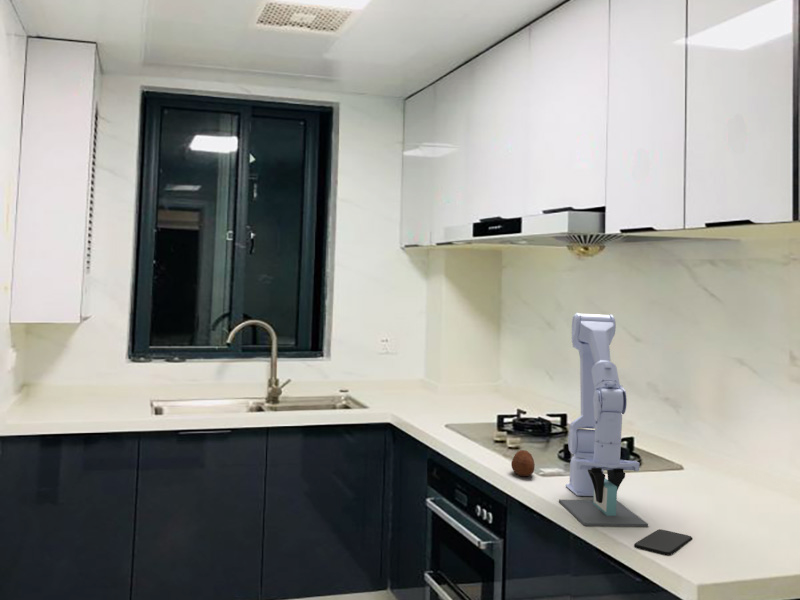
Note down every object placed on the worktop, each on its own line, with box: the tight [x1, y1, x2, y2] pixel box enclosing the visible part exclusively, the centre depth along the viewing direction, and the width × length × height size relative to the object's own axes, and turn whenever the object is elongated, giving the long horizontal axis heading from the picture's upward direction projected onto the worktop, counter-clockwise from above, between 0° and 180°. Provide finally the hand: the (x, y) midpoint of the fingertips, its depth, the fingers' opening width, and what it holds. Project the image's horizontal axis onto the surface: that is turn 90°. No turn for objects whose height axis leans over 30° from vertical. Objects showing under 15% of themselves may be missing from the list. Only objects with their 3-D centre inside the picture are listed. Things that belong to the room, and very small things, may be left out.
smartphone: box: [633, 528, 693, 556], centre depth 157 cm, size 7×1×15 cm
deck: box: [592, 477, 618, 516], centre depth 177 cm, size 9×2×6 cm, turn 6°
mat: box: [558, 499, 649, 528], centre depth 176 cm, size 18×14×1 cm
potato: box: [511, 449, 535, 477], centre depth 209 cm, size 6×12×6 cm, turn 7°
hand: (604, 501), depth 177 cm, fingers closed on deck, 2 cm apart
